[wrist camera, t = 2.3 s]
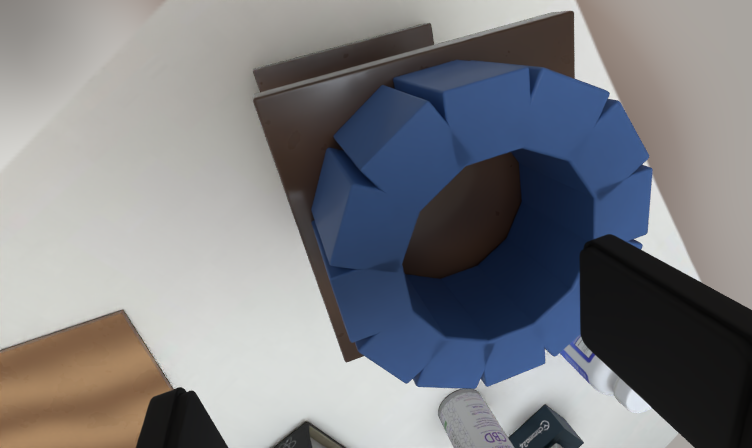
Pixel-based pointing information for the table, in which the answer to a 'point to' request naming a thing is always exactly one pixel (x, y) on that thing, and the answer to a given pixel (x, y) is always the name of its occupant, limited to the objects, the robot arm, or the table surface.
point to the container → (471, 422)
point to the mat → (78, 387)
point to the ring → (526, 236)
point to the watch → (546, 432)
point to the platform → (378, 67)
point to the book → (308, 439)
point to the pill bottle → (602, 376)
